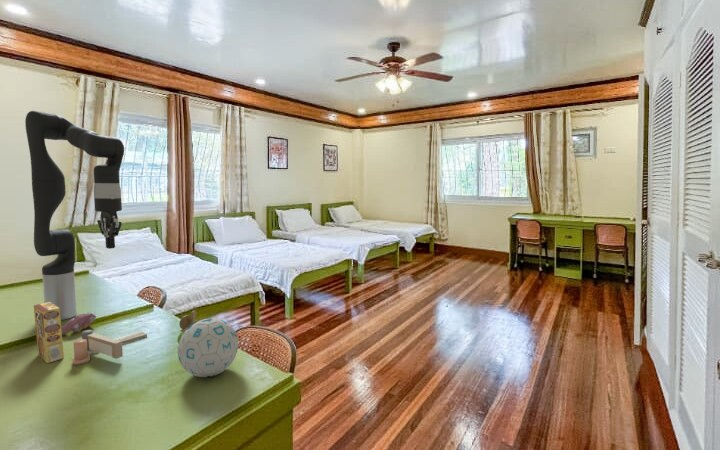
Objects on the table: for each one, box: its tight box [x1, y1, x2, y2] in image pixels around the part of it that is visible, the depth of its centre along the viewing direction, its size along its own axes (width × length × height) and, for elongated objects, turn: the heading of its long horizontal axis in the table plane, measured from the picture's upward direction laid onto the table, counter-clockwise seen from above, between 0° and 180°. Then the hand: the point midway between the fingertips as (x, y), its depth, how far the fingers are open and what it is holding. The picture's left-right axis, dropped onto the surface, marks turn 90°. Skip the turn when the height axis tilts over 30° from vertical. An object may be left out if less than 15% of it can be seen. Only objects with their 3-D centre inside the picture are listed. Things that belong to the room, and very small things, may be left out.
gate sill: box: [87, 330, 148, 356], centre depth 117 cm, size 4×18×1 cm, turn 146°
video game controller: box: [61, 312, 97, 336], centre depth 127 cm, size 10×5×7 cm, turn 169°
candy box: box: [33, 302, 65, 364], centre depth 107 cm, size 9×4×15 cm, turn 54°
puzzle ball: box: [177, 317, 239, 378], centre depth 99 cm, size 15×15×15 cm
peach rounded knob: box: [72, 338, 91, 366], centre depth 105 cm, size 4×4×6 cm
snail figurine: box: [177, 306, 197, 345], centre depth 116 cm, size 5×6×12 cm
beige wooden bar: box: [81, 329, 124, 360], centre depth 108 cm, size 16×3×5 cm, turn 66°
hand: (110, 248), depth 124 cm, fingers closed
